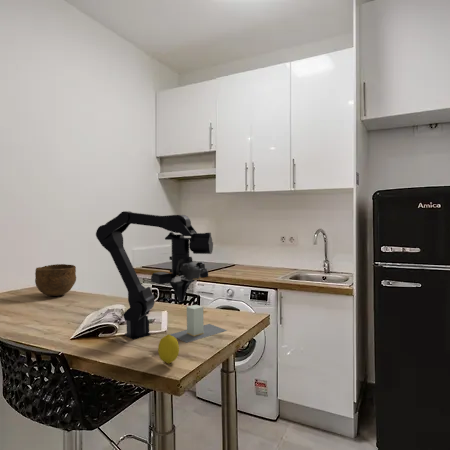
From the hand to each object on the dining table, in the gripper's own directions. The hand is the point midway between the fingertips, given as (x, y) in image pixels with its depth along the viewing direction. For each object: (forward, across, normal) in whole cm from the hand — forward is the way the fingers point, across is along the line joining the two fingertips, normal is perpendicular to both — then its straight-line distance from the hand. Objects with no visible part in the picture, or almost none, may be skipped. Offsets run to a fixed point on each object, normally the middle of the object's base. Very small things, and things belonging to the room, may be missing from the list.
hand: (181, 301), depth 112 cm
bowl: (+12, -12, +94) cm, 96 cm away
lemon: (+12, -14, -14) cm, 23 cm away
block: (+12, +6, 0) cm, 13 cm away
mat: (+12, +7, 0) cm, 14 cm away
